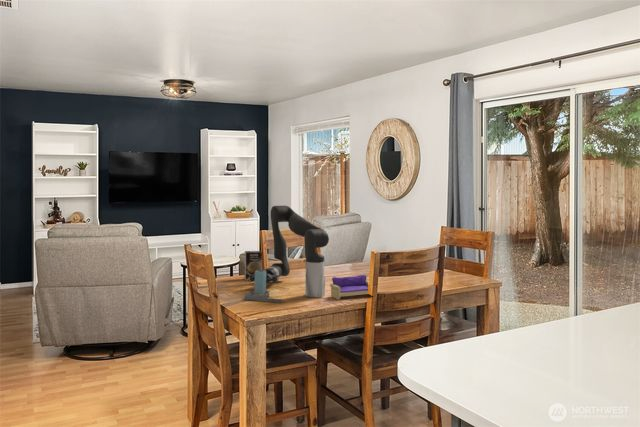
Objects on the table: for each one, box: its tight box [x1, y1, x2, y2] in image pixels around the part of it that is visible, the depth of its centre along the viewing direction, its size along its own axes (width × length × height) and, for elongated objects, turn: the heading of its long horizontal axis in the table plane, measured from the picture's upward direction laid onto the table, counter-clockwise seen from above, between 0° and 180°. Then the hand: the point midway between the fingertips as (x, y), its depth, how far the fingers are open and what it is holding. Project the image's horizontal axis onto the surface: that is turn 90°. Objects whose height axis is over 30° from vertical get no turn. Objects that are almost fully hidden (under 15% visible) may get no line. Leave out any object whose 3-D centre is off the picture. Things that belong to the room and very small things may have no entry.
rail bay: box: [243, 289, 284, 304], centre depth 262 cm, size 19×10×2 cm, turn 75°
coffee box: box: [243, 250, 263, 282], centre depth 309 cm, size 9×6×16 cm
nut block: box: [254, 269, 267, 295], centre depth 276 cm, size 4×4×11 cm
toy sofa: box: [329, 273, 369, 301], centre depth 271 cm, size 21×9×10 cm, turn 115°
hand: (259, 280), depth 275 cm, fingers open, 8 cm apart
